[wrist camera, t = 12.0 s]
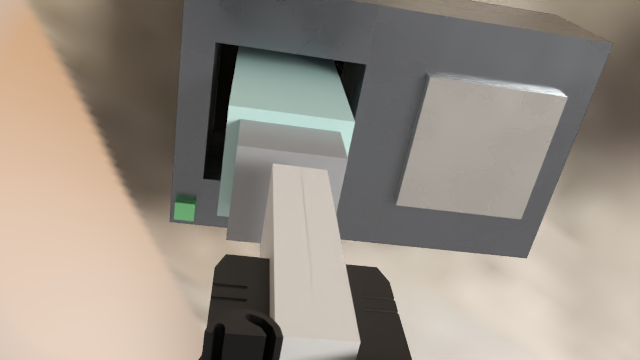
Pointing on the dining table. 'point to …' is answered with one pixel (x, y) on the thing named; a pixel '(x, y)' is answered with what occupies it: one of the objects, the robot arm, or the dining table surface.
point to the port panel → (409, 112)
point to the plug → (280, 131)
